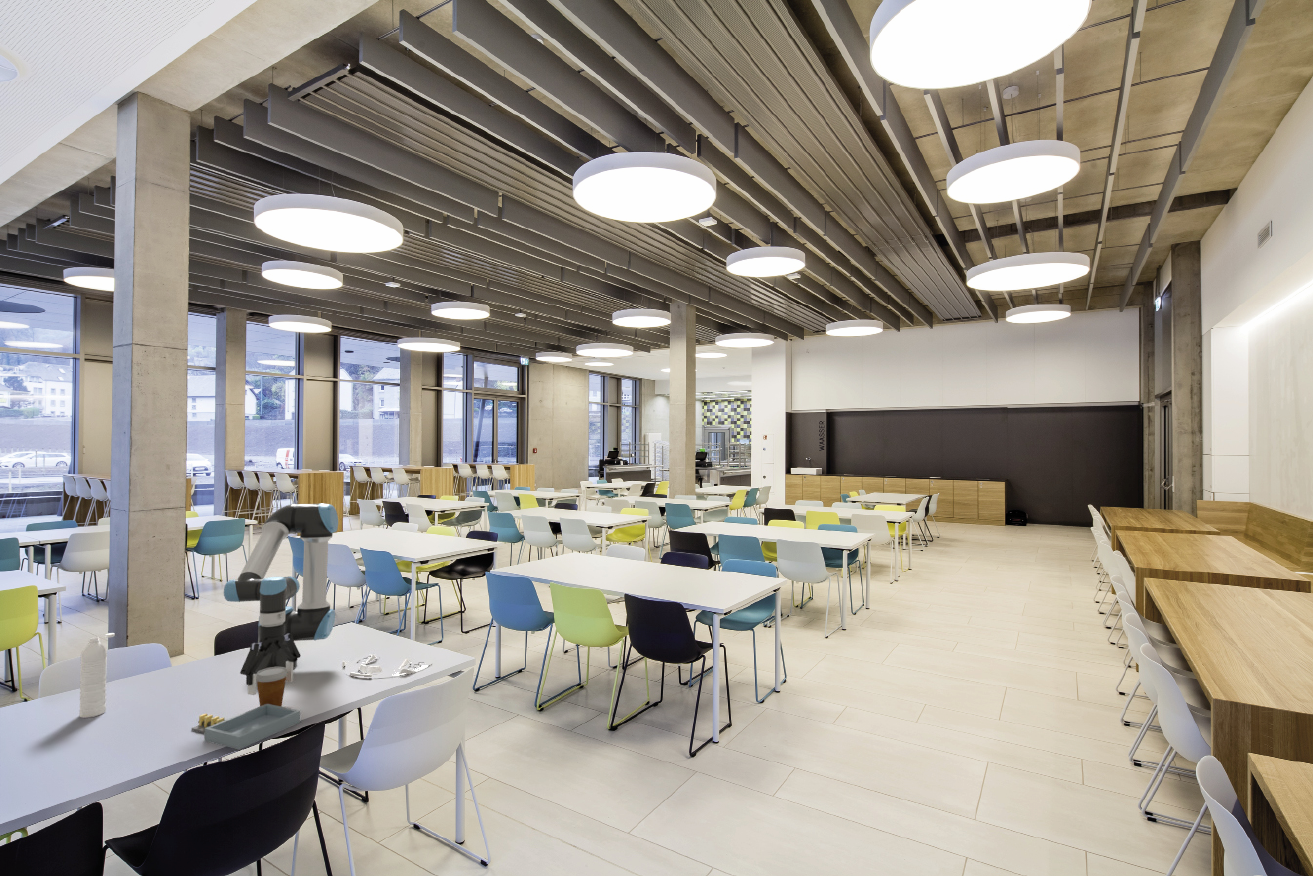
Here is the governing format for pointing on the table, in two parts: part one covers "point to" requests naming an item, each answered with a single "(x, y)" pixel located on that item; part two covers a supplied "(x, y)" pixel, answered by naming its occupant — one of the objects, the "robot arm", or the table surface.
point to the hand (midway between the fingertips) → (271, 687)
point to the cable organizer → (378, 669)
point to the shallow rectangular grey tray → (252, 726)
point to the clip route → (206, 722)
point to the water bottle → (93, 678)
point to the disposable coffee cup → (271, 685)
